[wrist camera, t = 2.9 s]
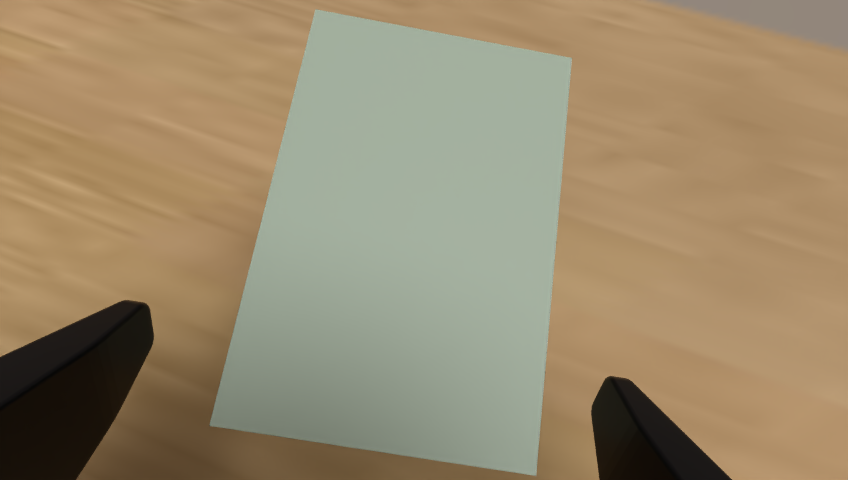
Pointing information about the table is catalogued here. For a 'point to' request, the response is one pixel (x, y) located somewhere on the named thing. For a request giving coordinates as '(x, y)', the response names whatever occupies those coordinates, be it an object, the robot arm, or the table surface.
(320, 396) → the pale green rectangular block
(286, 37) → the table surface
